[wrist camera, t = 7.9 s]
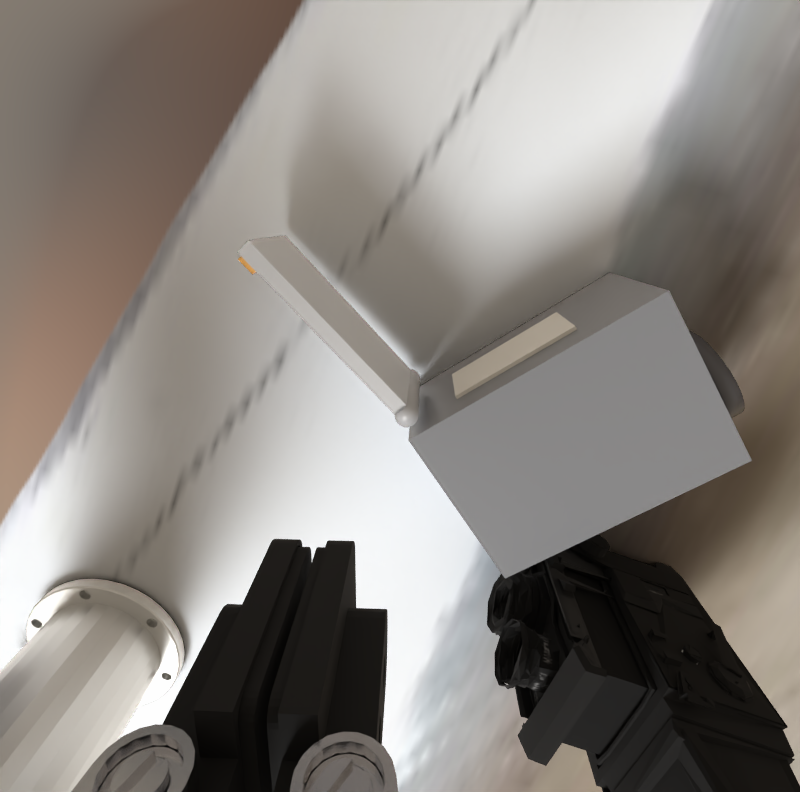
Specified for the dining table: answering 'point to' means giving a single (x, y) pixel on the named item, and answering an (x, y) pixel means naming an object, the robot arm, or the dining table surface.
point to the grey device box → (579, 422)
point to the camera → (633, 678)
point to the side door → (335, 323)
